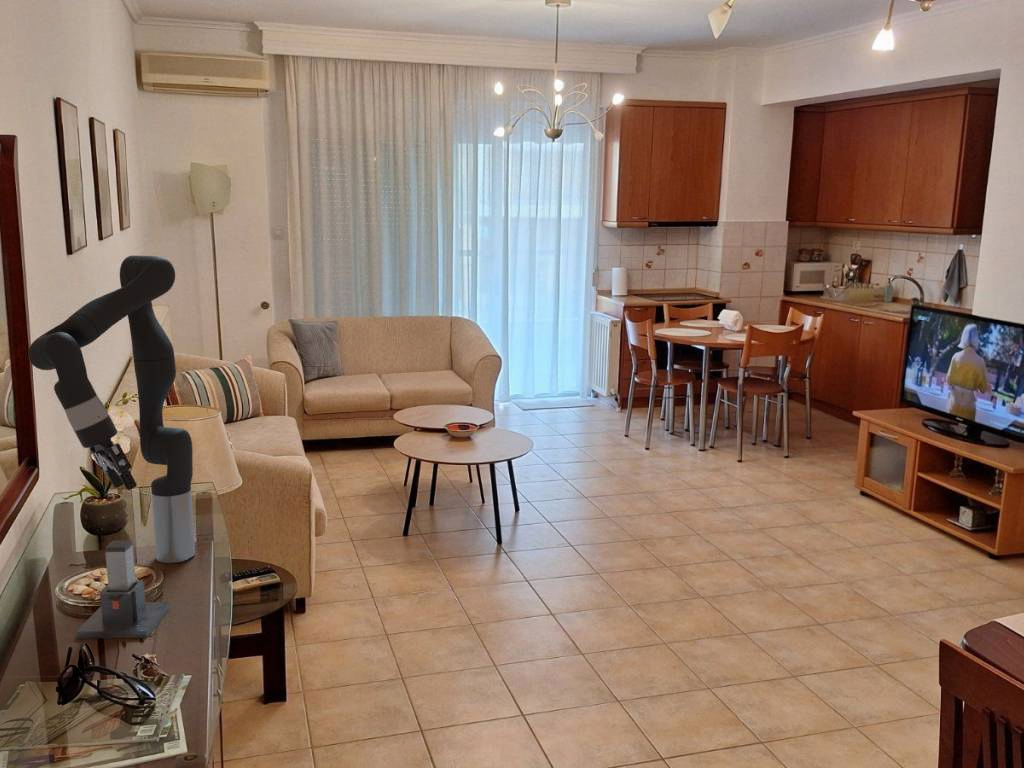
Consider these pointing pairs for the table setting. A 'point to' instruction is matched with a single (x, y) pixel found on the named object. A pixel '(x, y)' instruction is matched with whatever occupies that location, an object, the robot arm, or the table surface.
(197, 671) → the table surface
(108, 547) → the post
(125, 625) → the stand
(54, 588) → the table surface
